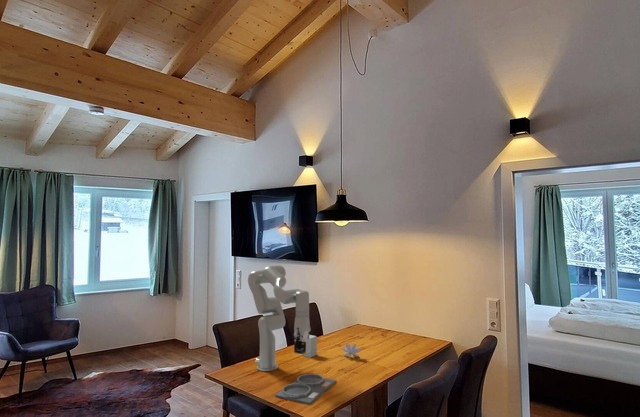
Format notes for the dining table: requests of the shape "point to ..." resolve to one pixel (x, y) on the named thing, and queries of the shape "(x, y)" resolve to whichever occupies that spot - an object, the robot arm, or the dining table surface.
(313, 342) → the supplement box
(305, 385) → the steel rings
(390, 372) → the dining table surface
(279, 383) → the dining table surface
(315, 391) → the socket board
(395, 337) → the dining table surface
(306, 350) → the medicine bottle
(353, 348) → the water lily
